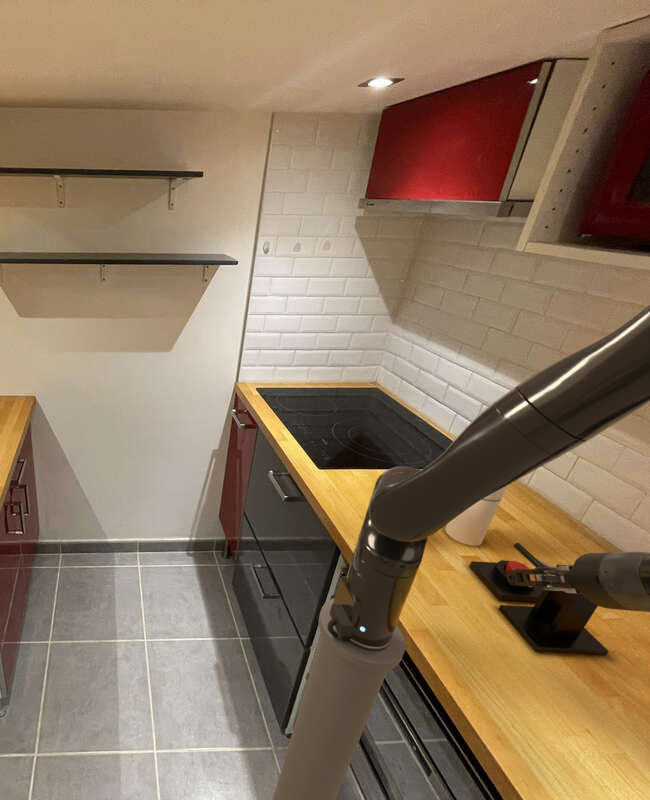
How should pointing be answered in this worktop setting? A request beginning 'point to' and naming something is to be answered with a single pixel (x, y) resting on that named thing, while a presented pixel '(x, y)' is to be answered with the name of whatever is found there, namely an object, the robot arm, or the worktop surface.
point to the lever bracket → (556, 623)
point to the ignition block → (503, 582)
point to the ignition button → (515, 566)
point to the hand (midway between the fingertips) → (527, 578)
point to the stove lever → (531, 557)
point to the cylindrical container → (475, 520)
